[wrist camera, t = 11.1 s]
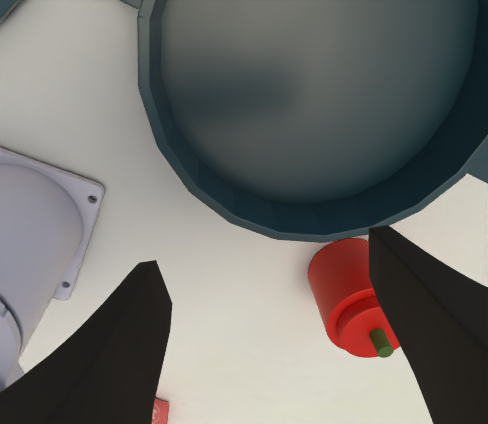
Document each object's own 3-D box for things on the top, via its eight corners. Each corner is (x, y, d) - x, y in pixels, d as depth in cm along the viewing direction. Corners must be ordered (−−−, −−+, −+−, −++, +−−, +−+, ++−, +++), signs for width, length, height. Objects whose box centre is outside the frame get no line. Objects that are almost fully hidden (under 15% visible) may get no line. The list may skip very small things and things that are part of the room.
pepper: (355, 305, 28) (395, 392, 22) (294, 285, 27) (318, 371, 21) (397, 252, 26) (455, 332, 20) (333, 227, 25) (374, 304, 18)
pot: (390, 252, 26) (417, 291, 23) (61, 124, 20) (29, 150, 17) (589, 1, 19) (673, 2, 15) (168, -318, 13) (151, -436, 9)
